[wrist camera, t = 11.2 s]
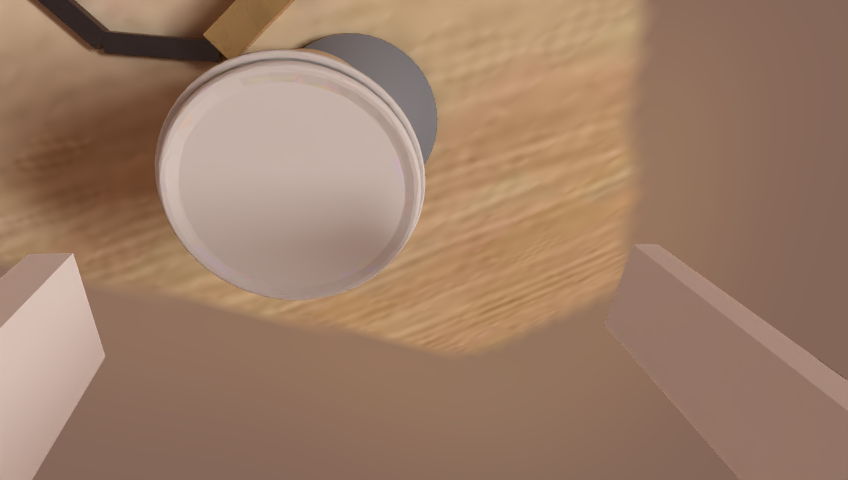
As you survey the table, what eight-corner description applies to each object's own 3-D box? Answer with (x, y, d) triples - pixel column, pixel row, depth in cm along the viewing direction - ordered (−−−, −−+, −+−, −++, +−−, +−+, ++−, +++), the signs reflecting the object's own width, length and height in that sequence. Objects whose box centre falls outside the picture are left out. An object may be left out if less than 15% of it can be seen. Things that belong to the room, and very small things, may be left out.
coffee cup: (355, 214, 29) (368, 332, 18) (205, 159, 26) (118, 265, 15) (416, 79, 26) (475, 130, 15) (254, -4, 22) (187, -11, 12)
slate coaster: (274, 197, 28) (273, 201, 27) (263, 24, 23) (262, 24, 23) (426, 200, 30) (428, 203, 30) (443, 41, 26) (446, 42, 25)
